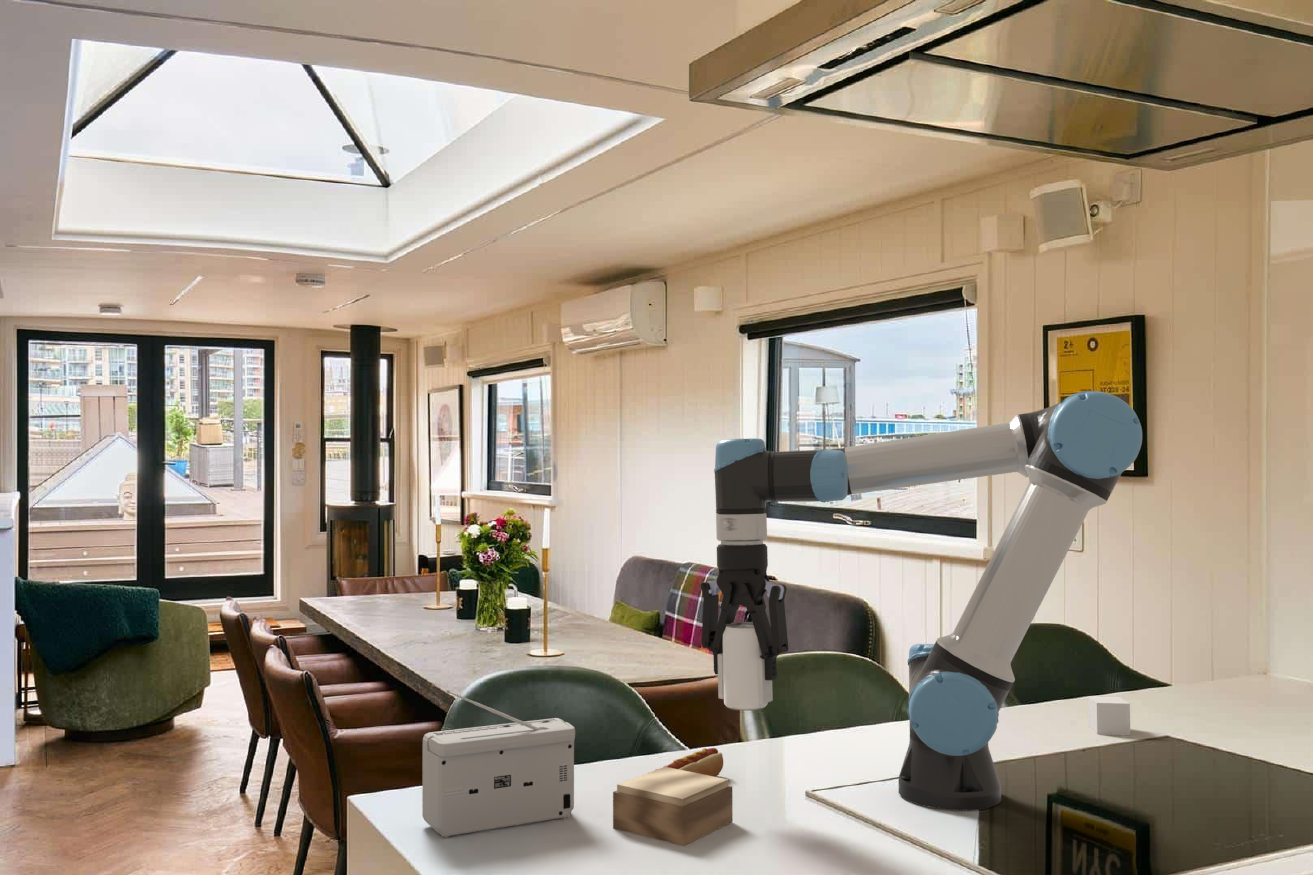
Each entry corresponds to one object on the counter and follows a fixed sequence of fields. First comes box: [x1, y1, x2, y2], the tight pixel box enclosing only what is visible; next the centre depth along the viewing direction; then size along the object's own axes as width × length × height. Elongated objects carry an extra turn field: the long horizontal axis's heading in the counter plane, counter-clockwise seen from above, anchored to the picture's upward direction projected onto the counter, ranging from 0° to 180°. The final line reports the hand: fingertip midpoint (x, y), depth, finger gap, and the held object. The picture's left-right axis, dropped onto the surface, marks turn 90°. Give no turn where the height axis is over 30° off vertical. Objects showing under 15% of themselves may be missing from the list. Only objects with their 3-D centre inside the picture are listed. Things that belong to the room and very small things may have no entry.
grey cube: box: [1087, 695, 1131, 736], centre depth 203 cm, size 6×6×6 cm
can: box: [723, 621, 769, 712], centre depth 157 cm, size 6×6×12 cm
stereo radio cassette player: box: [421, 689, 576, 839], centre depth 151 cm, size 21×8×20 cm, turn 117°
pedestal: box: [612, 766, 734, 847], centre depth 149 cm, size 12×12×6 cm
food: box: [663, 747, 724, 777], centre depth 169 cm, size 14×6×5 cm, turn 146°
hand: (745, 699), depth 156 cm, fingers closed on can, 6 cm apart
